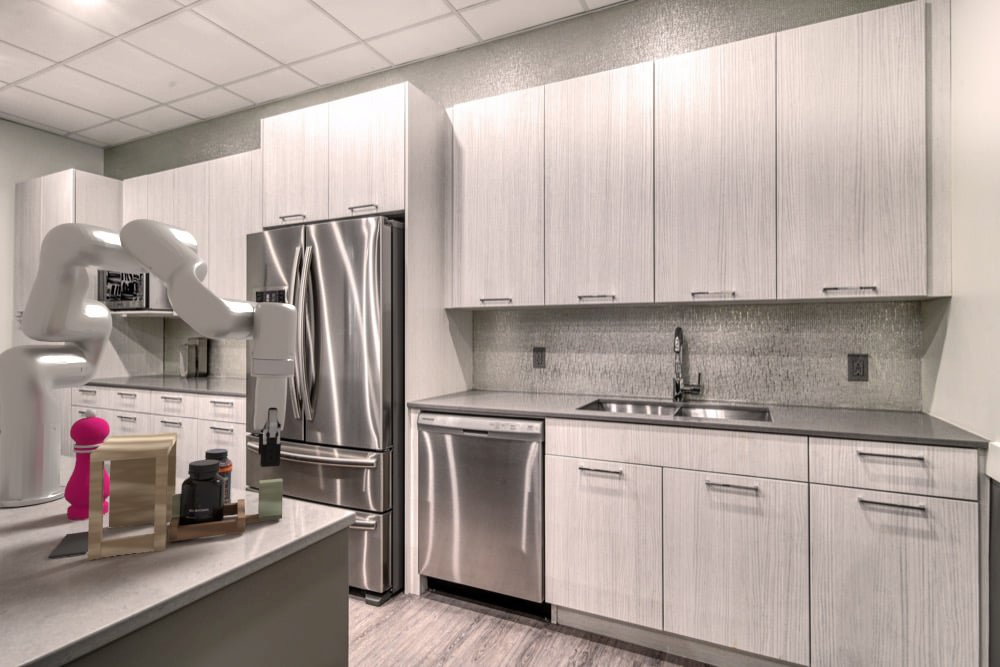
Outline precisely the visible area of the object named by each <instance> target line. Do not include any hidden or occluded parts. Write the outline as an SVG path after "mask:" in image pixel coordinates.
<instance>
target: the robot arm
mask: <svg viewBox="0 0 1000 667" xmlns="http://www.w3.org/2000/svg"><path fill="white" fill-rule="evenodd" d="M198 251H199V245H198V242H197V240H196V238H195V237H194V236H193V234H191V232H189V231H188V230H186V229H184V228H182V227H180V226H176V225H174V224H173V225H171V224H169V223H165V222H162V221H161V222H160V221H158V220H154V219H147V218H139V219H134V220H131V221H129V222H127V223H126V224H124V225H123V227H121V229H120V231H119V230H114V229H111V228H107V227H103V226H97V225H93V224H87V223H79V222H78V223H77V222H67V223H66V222H65V223H60V224H58V225H56V226H54V227H53V228H51V229H50V230H48V232H47V233H46V234H45V235H44V237H43V240H42V242H41V246H40V252H39V264H38V269H37V273H36V276H35V279H34V281H33V284H32V287H31V290H30V293H29V296H28V299H27V302H26V305H25V307H24V309H23V310H24V311H23V312H22V313H23V314H22V316H21V322H20V327H21V332H22V333H23V335H24V336H25V337H27V338H28V339H29V340H33V341H36V342H46V343H64V344H23V345H22V344H21V345H16V346H13V347H10V348H7V349H5V350H4V351H2V352H1V353H0V508H13V507H23V506H32V505H33V506H34V505H39V504H43V503H48V502H51V501H52V502H53V501H56V500H57V499H61V498H65V497H64V493H65V488H66V485H65V484H60V482H61V480H60V479H61V452H62V451H61V450H62V449H61V446H62V440H61V439H62V410H61V406H60V404H59V402H58V400H57V399H56V397H55V396H54V394H53V393H52V391H53V390H61V389H69V388H70V389H71V388H77V387H82V386H84V385H86V384H88V383H89V382H91V381H92V380H93V378H94V377H95V376H96V374H97V371H98V369H99V366H100V364H101V361H102V358H103V356H104V353H105V350H106V347H107V344H108V343H109V339H110V336H111V333H112V330H113V317H112V314H111V311H110V309H109V308H108V306H107V305H106V304H104V303H103V302H101V301H99V300H95V299H92V298H86V295H87V293H88V290H89V287H90V279H89V274H88V271H87V269H86V268H89V269H95V270H101V271H107V272H115V273H123V274H131V275H132V274H133V275H139V274H140V275H141V274H150V275H151V276H152V277H153V278H155V279H156V280H157V281H158V282H159V283H160V284H162V285H163V286H164V287H165V288H166V289H167V290H166V294H167V299H168V301H169V304H170V306H171V308H172V310H173V311H174V313H175V314H176V315H177V316H178V317H179V318H181V320H183V321H184V322H185V323H186V324H187V325H188V326H190V328H192V329H193V330H194V331H196V332H197V333H199V334H200V335H202V336H204V337H206V338H208V339H213V340H235V341H237V340H239V341H240V340H241V341H245V340H252V341H251V342H252V345H251V362H250V363H251V364H250V377H252V378H256V381H255V390H254V406H253V408H254V409H253V410H254V411H253V412H254V413H253V430H254V431H255V432H257V433H259V431H260V433H259V434H258V435H259V436H258V455H260V461H259V462H260V464H259V465H260V467H261V468H267V467H268V468H270V467H279V466H280V465H281V450H282V449H281V447H282V443H281V431H283V430H284V426H285V421H286V420H285V419H286V410H287V395H288V393H287V392H288V378H294V377H295V367H296V366H295V365H296V344H297V327H298V310H297V307H296V306H295V305H294V304H291V303H286V302H285V303H284V302H272V301H271V302H269V301H266V302H264V301H263V302H257V301H251V300H242V299H235V298H225V297H224V298H223V297H220V296H219V295H217V294H216V293H214V292H213V291H212V290H211V289H210V288H208V287H207V286H206V285H205V284H204V283H203V282H204V280H206V278H207V275H208V265H207V262H206V261H205V259H204V258H202V257H201V256H200V255H198ZM51 390H52V391H51Z"/></svg>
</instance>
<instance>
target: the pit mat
mask: <svg viewBox="0 0 1000 667" xmlns="http://www.w3.org/2000/svg"><path fill="white" fill-rule="evenodd" d="M86 552H87V553H88V531H82V532H75V533H74V532H72V533H67V534H66V535H65V536H64V537H63V538H62V539H61V540H60V542H58V543H57V545H56V546H55V547H54V549H52V551H51V552H50V554H48V558H52V559H57V558H56V557H60V558H64V557H63V556H67V557H72V556H71V555H75V556H78V555H77V554H83V555H86V554H87V553H86ZM48 558H47V559H48Z"/></svg>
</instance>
